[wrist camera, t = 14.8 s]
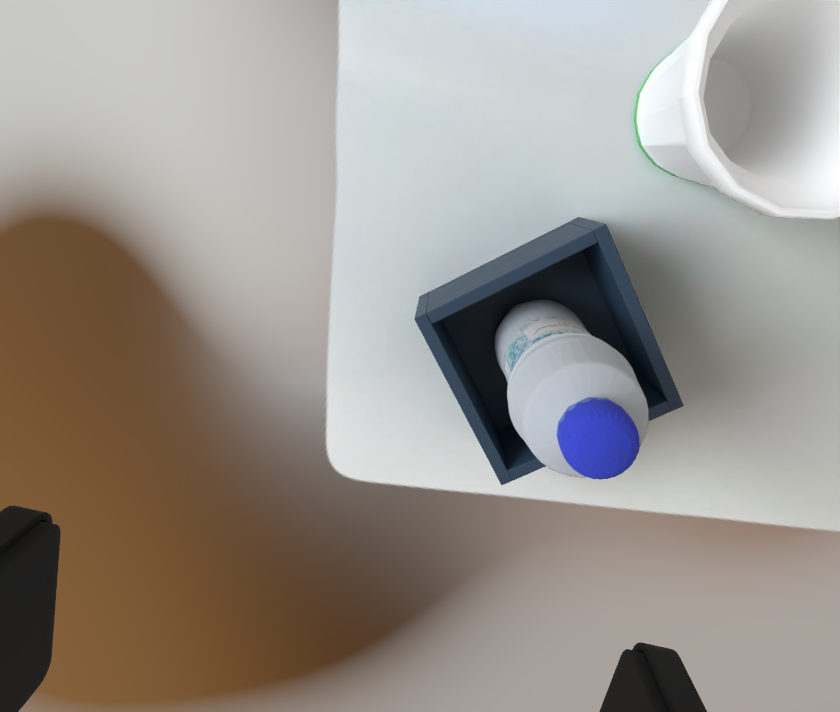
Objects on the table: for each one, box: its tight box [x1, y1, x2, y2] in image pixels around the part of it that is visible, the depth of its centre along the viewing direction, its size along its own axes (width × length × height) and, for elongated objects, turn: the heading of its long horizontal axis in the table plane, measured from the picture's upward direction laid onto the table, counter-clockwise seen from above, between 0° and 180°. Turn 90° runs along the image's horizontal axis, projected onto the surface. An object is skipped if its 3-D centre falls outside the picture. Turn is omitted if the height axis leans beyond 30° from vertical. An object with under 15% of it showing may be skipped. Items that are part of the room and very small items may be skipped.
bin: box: [415, 217, 683, 485], centre depth 42 cm, size 13×13×8 cm
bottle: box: [495, 299, 648, 479], centre depth 35 cm, size 7×7×20 cm
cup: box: [634, 0, 840, 220], centre depth 34 cm, size 12×12×15 cm
